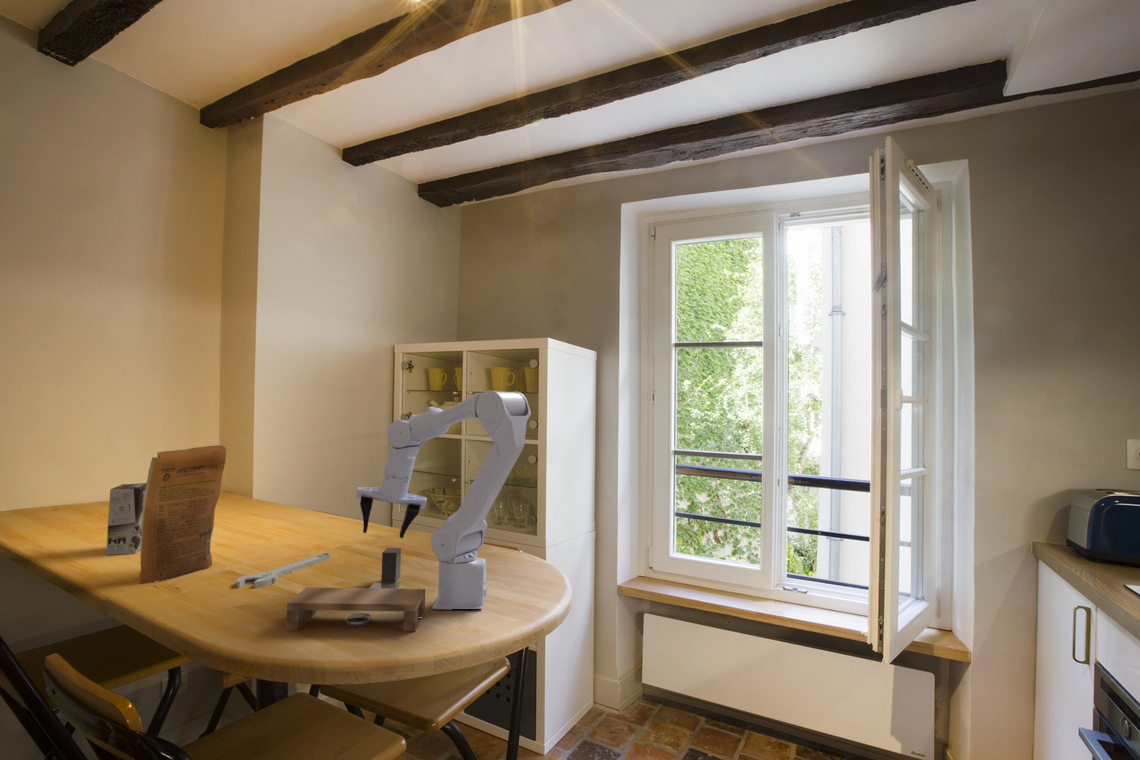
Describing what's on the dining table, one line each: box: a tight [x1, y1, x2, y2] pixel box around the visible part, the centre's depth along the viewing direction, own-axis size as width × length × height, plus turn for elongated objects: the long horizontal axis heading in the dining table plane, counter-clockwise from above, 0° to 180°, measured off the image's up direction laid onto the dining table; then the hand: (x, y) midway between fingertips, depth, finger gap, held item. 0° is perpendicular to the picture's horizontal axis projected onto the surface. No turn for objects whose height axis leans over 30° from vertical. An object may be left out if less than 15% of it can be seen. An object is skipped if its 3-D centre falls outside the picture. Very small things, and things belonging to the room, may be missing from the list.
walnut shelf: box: [285, 586, 426, 633], centre depth 102 cm, size 22×8×5 cm, turn 93°
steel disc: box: [345, 612, 371, 628], centre depth 102 cm, size 4×4×1 cm
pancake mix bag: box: [137, 444, 227, 584], centre depth 126 cm, size 7×19×28 cm, turn 159°
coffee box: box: [105, 482, 147, 556], centre depth 143 cm, size 9×6×16 cm
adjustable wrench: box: [236, 552, 331, 589], centre depth 130 cm, size 25×6×2 cm, turn 158°
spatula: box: [369, 547, 403, 589], centre depth 117 cm, size 6×18×7 cm, turn 3°
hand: (383, 533), depth 123 cm, fingers open, 7 cm apart
